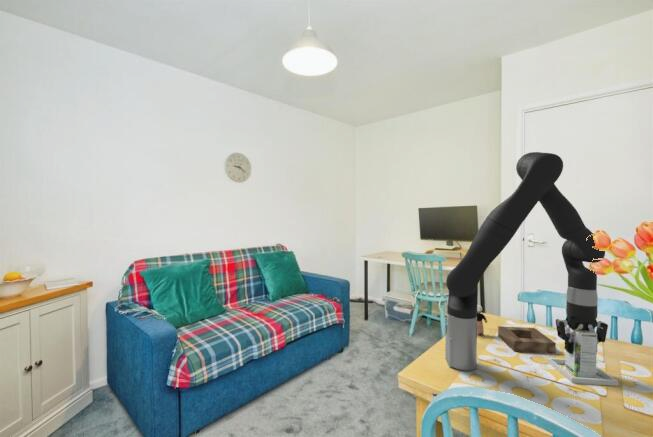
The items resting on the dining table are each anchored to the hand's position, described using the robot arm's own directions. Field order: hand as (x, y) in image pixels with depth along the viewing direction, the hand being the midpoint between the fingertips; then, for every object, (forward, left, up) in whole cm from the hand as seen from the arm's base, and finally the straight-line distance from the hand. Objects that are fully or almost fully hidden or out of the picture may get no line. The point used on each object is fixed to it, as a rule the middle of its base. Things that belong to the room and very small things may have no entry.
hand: (580, 353), depth 96 cm
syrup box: (0, 0, -7) cm, 7 cm away
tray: (0, 0, -7) cm, 7 cm away
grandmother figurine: (-22, +27, -7) cm, 35 cm away
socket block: (-7, +20, -7) cm, 22 cm away
